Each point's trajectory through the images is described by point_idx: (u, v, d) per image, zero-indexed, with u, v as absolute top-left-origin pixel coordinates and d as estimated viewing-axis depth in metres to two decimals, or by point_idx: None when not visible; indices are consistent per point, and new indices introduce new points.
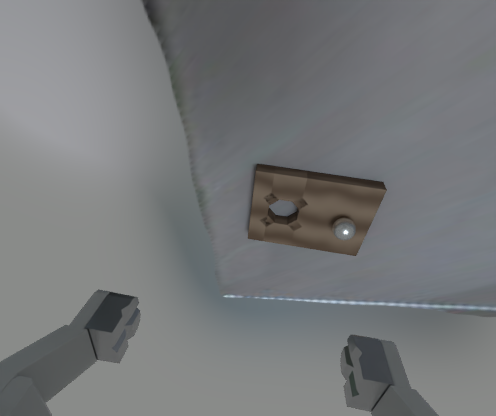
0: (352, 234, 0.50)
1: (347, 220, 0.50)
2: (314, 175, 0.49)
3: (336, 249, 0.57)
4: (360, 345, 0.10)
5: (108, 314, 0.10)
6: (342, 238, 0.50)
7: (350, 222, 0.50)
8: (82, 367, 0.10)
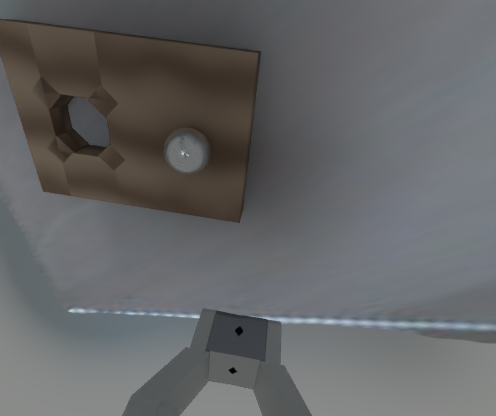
0: (195, 156, 0.23)
1: (188, 128, 0.24)
2: (117, 34, 0.24)
3: (201, 209, 0.30)
4: (245, 324, 0.10)
5: (224, 335, 0.10)
6: (177, 166, 0.24)
7: (192, 131, 0.24)
8: (198, 390, 0.09)
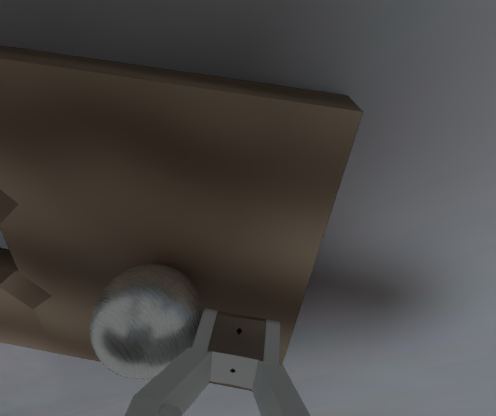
0: (136, 365, 0.09)
1: (146, 282, 0.10)
2: (0, 51, 0.10)
3: None
4: (243, 324, 0.10)
5: (225, 335, 0.10)
6: None
7: (149, 297, 0.09)
8: (199, 390, 0.09)
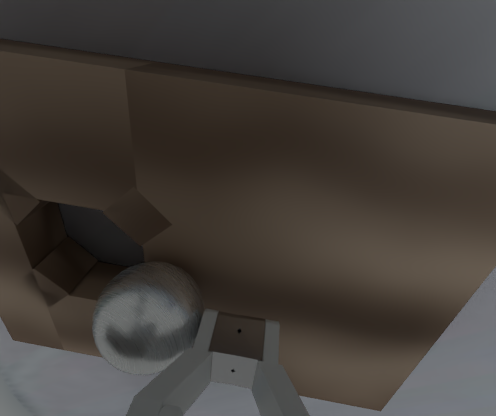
0: None
1: (145, 275, 0.10)
2: (182, 70, 0.09)
3: (311, 389, 0.16)
4: (243, 324, 0.10)
5: (226, 336, 0.10)
6: None
7: (142, 267, 0.10)
8: (200, 390, 0.09)
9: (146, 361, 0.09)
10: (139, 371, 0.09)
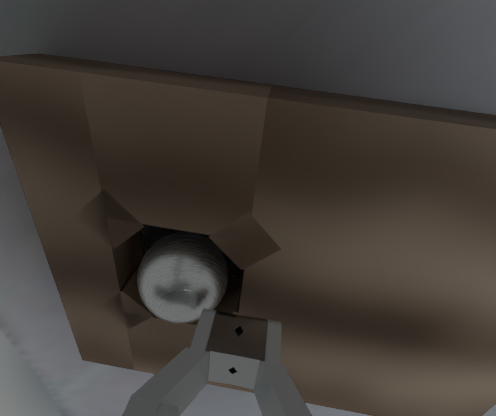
0: (213, 299, 0.12)
1: (188, 242, 0.12)
2: (310, 96, 0.09)
3: (392, 410, 0.16)
4: (245, 325, 0.10)
5: (224, 335, 0.10)
6: (175, 321, 0.12)
7: (200, 249, 0.12)
8: (198, 390, 0.09)
9: None
10: None
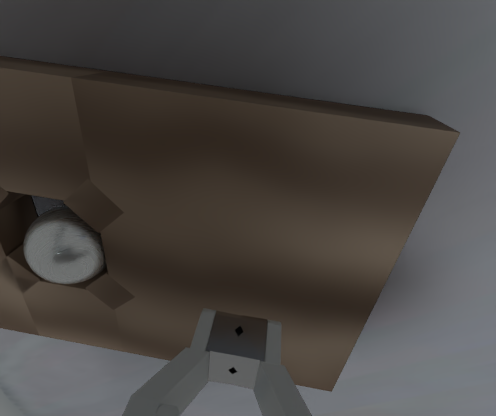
0: (101, 254, 0.14)
1: (69, 210, 0.14)
2: (124, 78, 0.11)
3: None
4: (245, 324, 0.10)
5: (224, 335, 0.10)
6: (68, 279, 0.14)
7: None
8: (198, 390, 0.09)
9: None
10: None
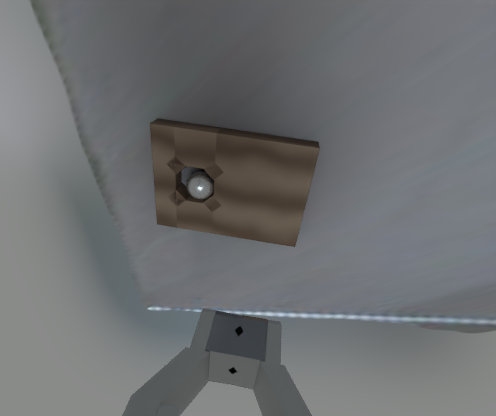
0: (212, 188, 0.41)
1: (202, 173, 0.40)
2: (228, 131, 0.38)
3: (269, 237, 0.44)
4: (245, 324, 0.10)
5: (224, 335, 0.10)
6: (202, 196, 0.40)
7: (206, 174, 0.40)
8: (198, 390, 0.09)
9: None
10: None
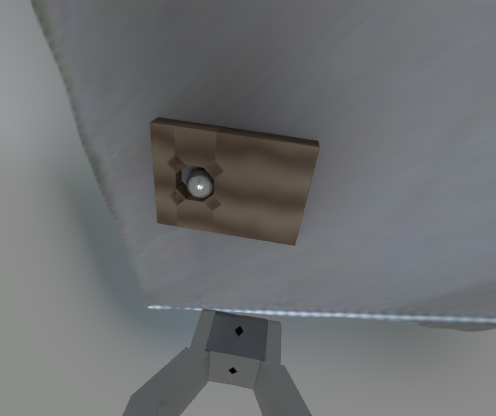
0: (212, 187, 0.41)
1: (202, 171, 0.40)
2: (228, 130, 0.38)
3: (269, 236, 0.44)
4: (245, 324, 0.10)
5: (224, 335, 0.10)
6: (202, 194, 0.40)
7: (206, 173, 0.41)
8: (198, 390, 0.09)
9: None
10: None
